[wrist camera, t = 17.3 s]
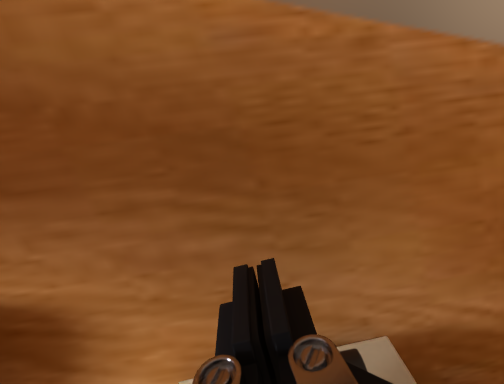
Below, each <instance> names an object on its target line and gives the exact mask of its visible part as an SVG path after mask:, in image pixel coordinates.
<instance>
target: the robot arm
mask: <svg viewBox="0 0 504 384" xmlns="http://www.w3.org/2000/svg"><path fill="white" fill-rule="evenodd" d="M257 274H258V283H259V287H258V283H257V279H256V276H255V272H254V269H253V267H249V268H248V265H247V264H246V265H241V266H237V267H234V271H233V302H228V303H224V304H221V305H220V309H219V319H218V330H217V341H216V352H215V357H213V358H211V359H208V360H207V361H206V362H205V363H203V364H202V365H201V367H200V368H199V369H198V370H197V372H196V375H195V377H194V379H193V383H192V384H277V383H278V384H393V383H391V382H389V381H387V380H384V379H382V378H380V377H378V376H376V375H374V374H372V373H369V372H367V371H365V370H363V369H361V368H359V367H357V366H355V365H352V364H350V363H348V362H346V361H345V360H344V359H343V357H342V355H341V354H340V352H339V351H338V349H337V347H336V346H335V344H334V343H333V342H332V341H331V340H330V339H328V338H326V337H324V336H321V335H317V333H316V330H315V327H314V324H313V321H312V318H311V315H310V312H309V309H308V306H307V303H306V300H305V297H304V294H303V291H302V288H301V286H297V287H293V288H289V289H284V290H282V288H281V284H280V280H279V276H278V272H277V268H276V264H275V260H274V258H271V259H267V260H263V261H261V265H257ZM276 380H277V381H276Z"/></svg>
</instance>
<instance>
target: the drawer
mask: <svg viewBox="0 0 504 384" xmlns="http://www.w3.org/2000/svg"><path fill="white" fill-rule="evenodd" d="M337 349H338V351H339V352H340V354H341V355H342V357H343V359H344V360H345V361H346V362H348V363H350V364H352V365H355V366H357V367H359V368H361V369H363V370H365V371H367V372H369V373H372V374H374V375H376V376H378V377H380V378H382V379H384V380H387V381H389V382H391V383H393V384H417V383H416V381H415V379H414V378H413V376H412V375H411V373H410V371H409V370H408V368H407V367H406V365H405V364H404V362H403V360H402V359H401V357H400V356H399V354H398V352H397V351H396V349H395V348H394V346H393V345H392V343H391V341H390V340H389V338H388V337H387V336H384V337H379V338H375V339H370V340H366V341H361V342H357V343H352V344H348V345H343V346H339V347H337ZM276 381H277V380H276ZM192 383H193V379H190V380H185V381H181V382H179V384H192ZM277 384H278V383H277Z"/></svg>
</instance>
